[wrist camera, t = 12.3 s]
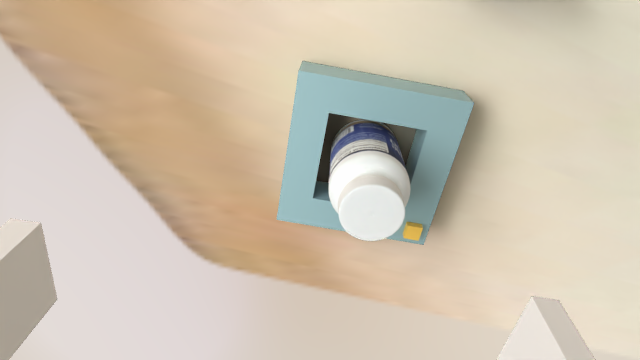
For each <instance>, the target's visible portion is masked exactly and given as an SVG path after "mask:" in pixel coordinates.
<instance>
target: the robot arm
mask: <svg viewBox="0 0 640 360" xmlns="http://www.w3.org/2000/svg"><path fill="white" fill-rule="evenodd" d="M56 300H57V295H56V290H55V286H54V281H53V277H52V272H51V267H50V263H49V258H48V253H47V249H46V244H45V240H44V234H43V230H42V225H41V223H39V222H32V221H26V220H19V219H12V218H11V219H9V220H8V221H7V222H6V223H5V224H3V225H2V226H1V227H0V360H9V359H10V358H11V357H12V355H13V354H14V353H15V351H16V350H17V349H18V348H19V347H20V345H21V344H22V343H23V341H24V340H25V339H26V338H27V337H28V335H29V334H30V333H31V332H32V330H33V329H34V328H35V327H36V325H37V324H38V323H39V322H40V320H41V319H42V318H43V317H44V315H45V314H46V313H47V312H48V310H49V309H50V308H51V307H52V305H53V304H54V303H55V302H56ZM496 360H596V359H595V358H594V356H593V355H592V353H591V351H590V350H589V348H588V347H587V345H586V343H585V342H584V340H583V338H582V337H581V335H580V334H579V332H578V330H577V329H576V327H575V325H574V324H573V322H572V321H571V319H570V317H569V316H568V314H567V312H566V311H565V309H564V308H563V306H562V304H561V303H560V301H559V300H554V299H548V298H541V297H534V296H531V298H530V300H529V302H528V304H527V305H526V307H525V309H524V311H523V313H522V314H521V316H520V318H519V320H518V322H517V323H516V325H515V327H514V329H513V330H512V332H511V334H510V336H509V338H508V339H507V341H506V343H505V345H504V347H503V348H502V350H501V352H500V354H499V356H498V357H497V359H496Z"/></svg>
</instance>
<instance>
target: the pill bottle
mask: <svg viewBox="0 0 640 360" xmlns="http://www.w3.org/2000/svg"><path fill="white" fill-rule="evenodd" d="M330 154H331V155H330V171H329V198H330V201H331V204H332V206H333V208H334V209H335V211H336V212H337V213H338V214H339V220H340V223H341V225H342V227H343V228H344V229H345V231H346V232H347V233H349V234H350V235H352V236H353V237H355V238H357V239H361V240H365V241H377V240H382V239H385V238H387V237H389V236H391V235H393V234H394V233H395V232H396V231H397V230H398V229H399V228H400V227H401V225H402V223H403V221H404V218H405V207H406V205H407V203H408V200H409V197H410V180H409V176H408V173H407V170H406V167H405V163H404V160H403V157H402V154H401V151H400V148H399V145H398V142H397V139H396V137H395V135H394V134H393V132H392V131H391V130H390V129H389V128H388V127H387V126H386V125H384V124H383V123H381V122H377V121H371V120H366V119H361V120H356V121H353V122H350V123H348V124H347V125H345V126H344V127H343V128H341V129H340V130H339V131H338V133H337V134H336V136H335V137H334V140H333V142H332V146H331V151H330Z"/></svg>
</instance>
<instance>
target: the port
mask: <svg viewBox="0 0 640 360" xmlns="http://www.w3.org/2000/svg"><path fill="white" fill-rule="evenodd" d="M473 105H474V102H473V101H472V100H471V99H470V98H469V97H468V96H467V95H466V94H465V93H464V91H461V90H456V89H451V88H445V87H440V86H435V85H429V84H424V83H418V82H413V81H408V80H402V79H397V78H392V77H386V76H381V75H375V74H370V73H365V72H359V71H354V70H349V69H343V68H338V67H333V66H327V65H322V64H316V63H311V62H306V61H302V64H301V66H300V69H299V72H298V79H297V86H296V92H295V99H294V106H293V113H292V119H291V126H290V133H289V140H288V146H287V153H286V160H285V167H284V174H283V180H282V187H281V194H280V201H279V207H278V214H277V220H282V221H288V222H293V223H299V224H305V225H311V226H317V227H323V228H328V229H334V230H340V231H345V229H344V228H343V227H342V225H341V223H340V220H339V214H338V213H337V212H336V211H335V209H334V208H333V206H332V204H331V201H330V198H329V183H327V182H322V181H316V178H317V173H318V168H319V163H320V157H321V152H322V147H323V142H324V136H325V131H326V126H327V121H328V115H329V113H333V114H338V115H344V116H349V117H355V118H360V119H366V120H371V121H377V122H382V123H388V124H393V125H399V126H404V127H410V128H415V129H416V133H415V136H414V139H413V143H412V146H411V149H410V152H409V156H408V159H407V162H406V166H405V167H406V170H407V173H408V176H409V180H410V197H409V200H408V203H407V205H406V207H405V218H404V221H403V223H402V225H401V227H400V228H399V229H398V230H397V231H396V232H395V233H394V234H393V235H391V236H389V237H387V239H393V240H399V241H404V242H410V243H416V244H422V245H424V242H425V239H426V236H427V233H428V231H429V228H430V225H431V222H432V219H433V217H434V214H435V211H436V208H437V205H438V203H439V200H440V197H441V194H442V192H443V189H444V186H445V183H446V180H447V178H448V175H449V172H450V169H451V166H452V164H453V161H454V158H455V155H456V153H457V150H458V147H459V144H460V141H461V139H462V136H463V133H464V130H465V127H466V125H467V122H468V119H469V116H470V114H471V111H472V108H473Z"/></svg>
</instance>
